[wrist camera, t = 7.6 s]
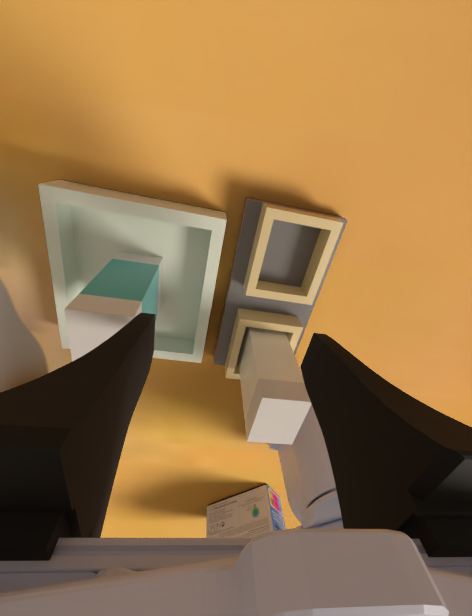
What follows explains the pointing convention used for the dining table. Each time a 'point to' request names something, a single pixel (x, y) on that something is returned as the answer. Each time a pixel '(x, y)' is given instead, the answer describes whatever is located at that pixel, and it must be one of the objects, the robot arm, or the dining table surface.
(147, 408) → the dining table surface
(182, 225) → the tray
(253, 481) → the dining table surface
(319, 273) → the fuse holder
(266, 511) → the ink cartridge box
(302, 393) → the block
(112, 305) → the block
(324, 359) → the robot arm
